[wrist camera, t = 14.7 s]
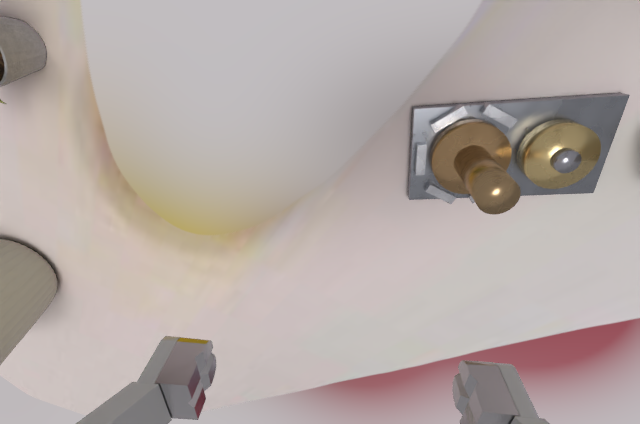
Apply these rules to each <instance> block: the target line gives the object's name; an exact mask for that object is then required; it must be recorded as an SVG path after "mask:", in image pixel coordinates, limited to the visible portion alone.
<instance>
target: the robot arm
mask: <svg viewBox="0 0 640 424" xmlns="http://www.w3.org/2000/svg"><path fill="white" fill-rule="evenodd" d="M212 349H213V345H212V341H211V340H201V339H191V338H181V337H170V336H165V337H164V338H163V339H162V340H161V342H160V343H159V345H158V347H157V348H156V350H155V352H154V354H153V355H152V357H151V359H150V360H149V362H148V364H147V366H146V367H145V369H144V371H143V372H142V374H141V376H140V378H139V379H138V381H137V382H132V383H130V384H129V385H128V386H126V387H125V388H123V389H122V390H121V391H119V392H118V393H117V394H115V395H114V396H113V397H111V398H110V399H109V400H107V401H106V402H105V403H103V404H102V405H100V406H99V407H98V408H96V409H95V410H94V411H92V412H91V413H90V414H88V415H87V416H86V417H84V418H83V419H82V420H80V421H79V422H77V423H76V424H168V423H169V422H170V421H171V418H178V419H195V420H198V418H199V415H200V413H201V410H202V408H203V405H204V403H205V400H206V397H205V393H204V391H205V390H206V389H207V388H208V387H210V386H211V384H212V381H213V378H214V374H215V369H216V358H215V355H214V354H212V353H211V351H212ZM458 368H459V372H460V373H459V374H457V375H456V376H455V377H454V380H453V398H454V402H455V406H456V408H457V409H458V410H459V411H460V412H461V413H462V415H463V416H462V418H461V420H460V424H549V423H548V422H547V421H546V420H545V419H542V418H539V417H538V415H537V413H536V410H535V408H534V406H533V404H532V402H531V400H530V398H529V396H528V394H527V392H526V390H525V388H524V385H523V383H522V381H521V379H520V377H519V375H518V373H517V371H516V368H515V367H514V366H513V365H511V364H499V363H493V362H478V361H461V362H460V364H459V366H458Z"/></svg>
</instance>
